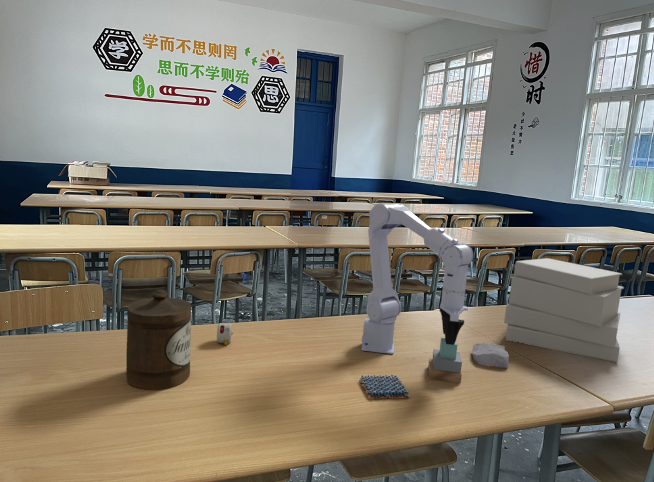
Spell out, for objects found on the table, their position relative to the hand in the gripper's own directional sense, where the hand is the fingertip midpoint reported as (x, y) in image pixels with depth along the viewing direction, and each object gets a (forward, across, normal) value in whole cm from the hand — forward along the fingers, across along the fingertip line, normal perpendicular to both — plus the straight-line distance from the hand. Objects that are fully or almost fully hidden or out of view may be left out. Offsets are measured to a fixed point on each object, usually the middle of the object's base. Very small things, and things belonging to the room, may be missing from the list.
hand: (448, 339), depth 129 cm
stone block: (+11, +16, -14) cm, 24 cm away
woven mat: (+11, -13, +16) cm, 23 cm away
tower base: (+11, 0, 0) cm, 11 cm away
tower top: (+8, 0, 0) cm, 8 cm away
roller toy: (+10, +4, +64) cm, 65 cm away
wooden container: (+10, -22, +71) cm, 75 cm away
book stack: (+10, +40, -41) cm, 59 cm away
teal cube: (+5, 0, 0) cm, 5 cm away
